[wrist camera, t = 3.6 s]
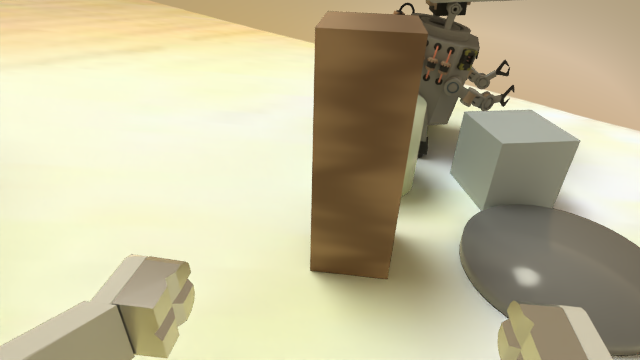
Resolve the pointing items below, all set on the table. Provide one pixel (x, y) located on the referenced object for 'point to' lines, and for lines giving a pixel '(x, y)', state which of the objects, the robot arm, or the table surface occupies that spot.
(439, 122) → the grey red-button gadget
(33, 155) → the table surface
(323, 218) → the walnut block
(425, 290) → the table surface
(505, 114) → the bluegrey cube
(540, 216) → the slate coaster
